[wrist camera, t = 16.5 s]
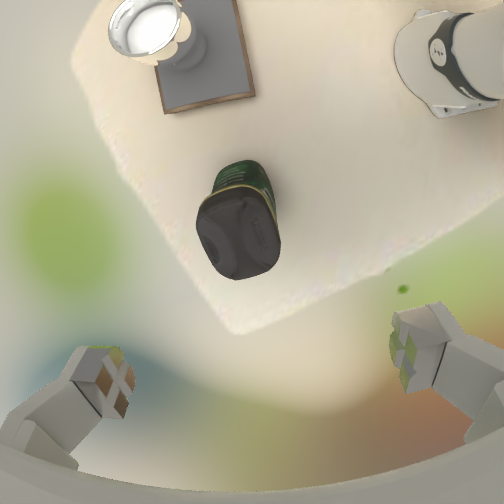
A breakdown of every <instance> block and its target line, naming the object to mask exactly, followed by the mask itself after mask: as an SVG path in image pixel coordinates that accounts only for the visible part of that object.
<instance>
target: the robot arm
mask: <svg viewBox="0 0 504 504" xmlns="http://www.w3.org/2000/svg"><path fill="white" fill-rule="evenodd" d="M394 56H395V62H396V66H397V69H398V71H399V74H400V76H401V78H402V79H403V81H404V83H405V84H406V85H407V87H408V88H409V89H410V90H411V91H412V92H413V93H414V94H415V95H416V96H417V97H419V98H420V99H422V100H423V101H424V102H425V103H426V104H427V105H428V106H429V108H430V110H431V111H432V113H433V114H434V115H435V116H436V117H437V118H446V117H450V116H454V115H459V114H463V113H468V112H472V111H477V110H482V109H487V108H492V107H496V106H497V104H498V101H499V100H501V99H502V100H504V1H503V2H501V3H500V4H499V5H497V6H495V7H492V8H490V9H487V10H484V11H481V12H478V13H460V14H453V13H450V12H449V11H447V10H444V11H440V12H436V13H434V12H431V11H428V10H426V9H421V10H418V11H417V12H416V14H415V16H414V18H413V21H412V22H410V23H409V24H408V25H406V26H405V27H404V28H403V29H402V30H401V31H400V32H399V34H398V36H397V38H396V41H395V46H394ZM445 108H446V112H445ZM392 325H393V327H394V331H393V332H392V334H391V335H390V342H389V347H390V354H391V358H392V361H393V364H394V366H396V367H398V368H399V369H400V374H399V378H400V381H401V383H402V386H403V388H404V391H405V393H406V394H408V393H412V392H416V391H419V390H423V389H427V388H430V387H432V389H433V390H435V391H436V392H437V393H439V394H440V395H441V396H443V397H444V398H445V399H446V400H448V401H449V402H450V403H452V404H453V405H454V406H455V407H457V408H458V409H459V410H461V411H462V412H463V413H464V414H466V415H467V416H468V417H470V418H471V419H472V420H474V421H473V423H472V425H471V426H470V428H469V429H468V431H467V432H466V434H465V436H464V440H465V443H466V445H463V446H461V447H459V448H457V449H454V450H452V451H449V452H447V453H444V454H441V455H439V456H436V457H433V458H430V459H427V460H425V461H422V462H419V463H416V464H413V465H409V466H406V467H403V468H400V469H396V470H393V471H389V472H385V473H381V474H377V475H373V476H369V477H365V478H360V479H355V480H350V481H345V482H339V483H334V484H328V485H321V486H314V487H307V488H298V489H287V490H276V491H258V492H257V491H256V492H211V491H209V492H208V491H192V490H180V489H169V488H160V487H153V486H146V485H139V484H134V483H128V482H123V481H118V480H113V479H108V478H104V477H99V476H95V475H91V474H87V473H83V472H80V471H77V469H78V466H79V464H78V462H77V461H76V460H75V459H74V458H73V457H71V456H70V455H69V454H70V453H71V451H73V449H74V448H75V447H76V446H77V445H78V444H79V443H80V442H81V441H82V440H83V439H84V438H85V437H86V436H87V435H88V434H89V432H90V431H91V430H92V429H93V428H94V427H95V426H96V425H97V424H98V423H99V422H100V421H101V420H102V418H113V419H123V418H124V416H125V413H126V410H127V407H128V405H129V402H128V400H127V397H128V396H129V395H130V394H132V393H133V390H134V387H135V375H134V371H133V369H132V368H131V366H130V365H129V364H128V363H127V362H125V361H124V360H123V358H124V354H123V353H122V351H121V349H120V348H119V347H116V346H79V347H77V348H76V349H75V351H74V352H73V354H72V356H71V357H70V359H69V361H68V363H67V364H66V366H65V367H64V369H63V371H62V373H61V374H60V376H59V378H58V380H55V379H54V380H53V381H52V382H50V383H49V384H48V385H46V386H45V387H43V388H42V389H41V390H39V391H38V392H37V393H35V394H34V395H33V396H31V397H30V398H28V399H27V400H26V401H24V402H23V403H22V404H20V405H19V406H18V407H16V408H15V409H14V410H12V411H11V412H10V413H9V414H8V416H7V417H6V419H5V421H4V423H3V425H2V427H1V429H0V504H504V350H503V349H500V348H499V347H496V346H494V345H492V344H490V343H488V342H486V341H484V340H482V339H480V338H478V337H475V336H473V335H468V336H467V335H466V333H465V332H464V330H463V329H462V327H461V326H460V325H459V323H458V322H457V320H456V319H455V318H454V316H453V315H452V314H451V312H450V311H449V310H448V308H447V307H446V306H445V304H444V303H443V302H441V301H438V302H435V303H431V304H427V305H425V306H420V307H416V308H411V309H407V310H403V311H399V312H394V314H393V317H392Z"/></svg>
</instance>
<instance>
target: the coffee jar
mask: <svg viewBox="0 0 504 504" xmlns="http://www.w3.org/2000/svg"><path fill="white" fill-rule="evenodd" d="M196 230H197V233H198V236H199V238H200V241H201V243H202V246H203V248H204V250H205V252H206V254H207V256H208V258H209V259H210V261H211V263H212V265H213V266H214V268H215V269H216V270H217V271H218V272H219V273H220V274H221V275H223V276H225V277H227V278H229V279H233V280H241V279H246V278H250V277H254V276H257V275H260V274H262V273H265V272H267V271H269V270H270V269H271V268H272V267H273V266H274V265H275V264H276V262H277V261H278V258H279V255H280V248H281V241H280V236H279V231H278V225H277V218H276V208H275V199H274V195H273V191H272V188H271V185H270V182H269V179H268V177H267V175H266V173H265V171H264V169H263V168H262V167H261V165H259V164H258V163H256V162H255V161H250V160H245V161H240V162H237V163H234V164H231V165H229V166H227V167H225V168H224V169H222V170H221V171H220V172H219V173H218V175H217V177H216V180H215V182H214V186H213V190H212V193H211V195H209V196H208V197H207V198H206V199H205V200H204V201H203V202H202V203H201V205H200V207H199V211H198V216H197V220H196Z"/></svg>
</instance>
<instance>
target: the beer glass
mask: <svg viewBox="0 0 504 504" xmlns="http://www.w3.org/2000/svg"><path fill="white" fill-rule="evenodd" d="M108 36H109V40H110V43H111V45H112V46H113V48H114V49H115V50H116V51H117V52H119V53H120V54H122V55H125V56H127V57H129V58H131V59H133V60H135V61H138V62H140V63H143V64H148V65H153V66H164V65H166V66H167V67H169V68H170V69H173V70H176V71H185V70H189V69H192V68H194V67H195V66H197V65H198V64H199V63H200V62H201V61H202V60H203V58H204V57H205V54H206V51H207V43H206V40H205V38H204V36H203V35H202V34H201V33H200V32H198V31H197V30H196V26H195V23H194V20H193V18H192V16H191V15H190V13H189V12H188V11H187V10H186V9H185V8H184V7H183V6H182V5H181V4H180V3H179V2H178V1H176V0H125V1H124V2H123V3H121V4H120V5H119V7H118V8H117V9H116V10H115V12H114V13H113V15H112V17H111V20H110V23H109V27H108Z"/></svg>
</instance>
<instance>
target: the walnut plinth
mask: <svg viewBox="0 0 504 504" xmlns="http://www.w3.org/2000/svg"><path fill="white" fill-rule="evenodd" d="M177 1H178V2H179V3H180V4H181V5H182V6H183V7H184V8H185V9H186V10H187V11H188V12H189V13H190V15H191V16H192V18H193V20H194V23H195V26H196V30H197V31H198V32H200V33H201V34H202V35H203V36H204V38H205V40H206V43H207V51H206V54H205V57H204V58H203V60H202V61H201V62H200V63H199V64H198V65H197V66H195V67H194V68H192V69H189V70H185V71H176V70H173V69H170V68H169V67H167V66H166V65H164V66H154V67H155V72H156V77H157V82H158V87H159V92H160V97H161V102H162V106H163V111H164V114H172V113H177V112H181V111H185V110H189V109H193V108H197V107H202V106H206V105H210V104H215V103H220V102H225V101H230V100H235V99H240V98H246V97H252V96H255V91H254V86H253V81H252V76H251V71H250V66H249V61H248V56H247V51H246V46H245V41H244V36H243V32H242V27H241V22H240V17H239V13H238V8H237V4H236V0H177Z"/></svg>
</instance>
